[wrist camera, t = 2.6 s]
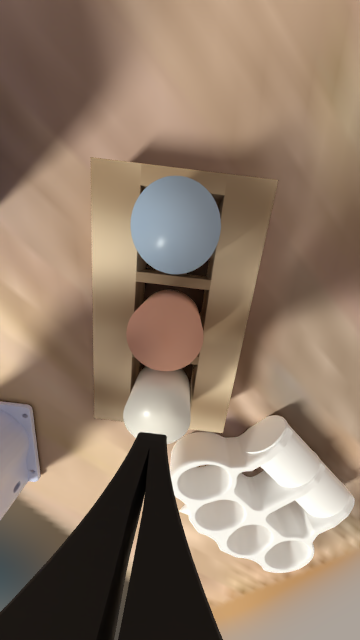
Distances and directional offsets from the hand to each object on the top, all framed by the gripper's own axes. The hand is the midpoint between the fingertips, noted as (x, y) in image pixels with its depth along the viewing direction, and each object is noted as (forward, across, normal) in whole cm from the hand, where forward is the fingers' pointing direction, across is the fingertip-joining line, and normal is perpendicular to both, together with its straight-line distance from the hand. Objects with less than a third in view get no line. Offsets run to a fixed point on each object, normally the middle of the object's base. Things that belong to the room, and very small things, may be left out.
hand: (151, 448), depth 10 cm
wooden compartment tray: (+8, 0, -5) cm, 9 cm away
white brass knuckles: (+8, -10, +12) cm, 18 cm away
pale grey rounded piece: (+5, 0, 0) cm, 5 cm away
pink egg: (+5, 0, -5) cm, 7 cm away
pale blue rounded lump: (+5, 0, -10) cm, 12 cm away
